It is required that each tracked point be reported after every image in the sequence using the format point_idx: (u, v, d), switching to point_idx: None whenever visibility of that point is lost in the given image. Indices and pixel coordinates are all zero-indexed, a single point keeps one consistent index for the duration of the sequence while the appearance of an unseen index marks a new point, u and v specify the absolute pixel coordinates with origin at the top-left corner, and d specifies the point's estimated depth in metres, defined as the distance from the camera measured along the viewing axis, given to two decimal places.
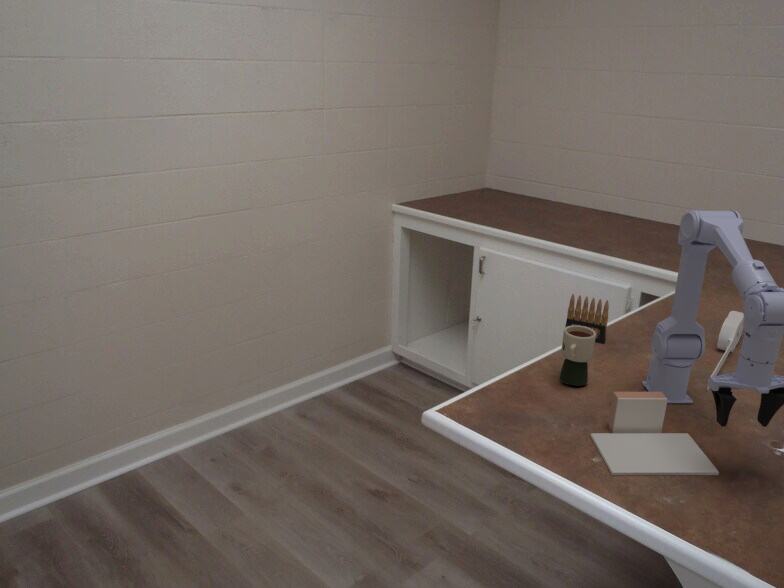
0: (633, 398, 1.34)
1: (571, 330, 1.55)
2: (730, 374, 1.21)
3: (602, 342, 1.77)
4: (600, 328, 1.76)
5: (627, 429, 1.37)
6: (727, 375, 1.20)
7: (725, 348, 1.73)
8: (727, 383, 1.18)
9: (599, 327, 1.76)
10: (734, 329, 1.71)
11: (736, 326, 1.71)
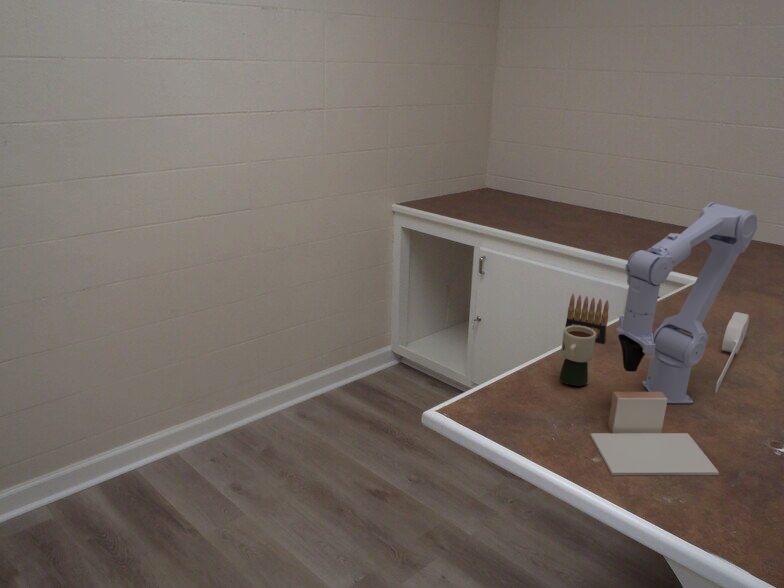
0: (633, 398, 1.34)
1: (571, 330, 1.55)
2: None
3: (602, 342, 1.77)
4: (600, 328, 1.76)
5: (627, 429, 1.37)
6: None
7: (730, 350, 1.72)
8: (621, 320, 1.42)
9: (599, 327, 1.76)
10: (739, 331, 1.70)
11: (741, 328, 1.70)
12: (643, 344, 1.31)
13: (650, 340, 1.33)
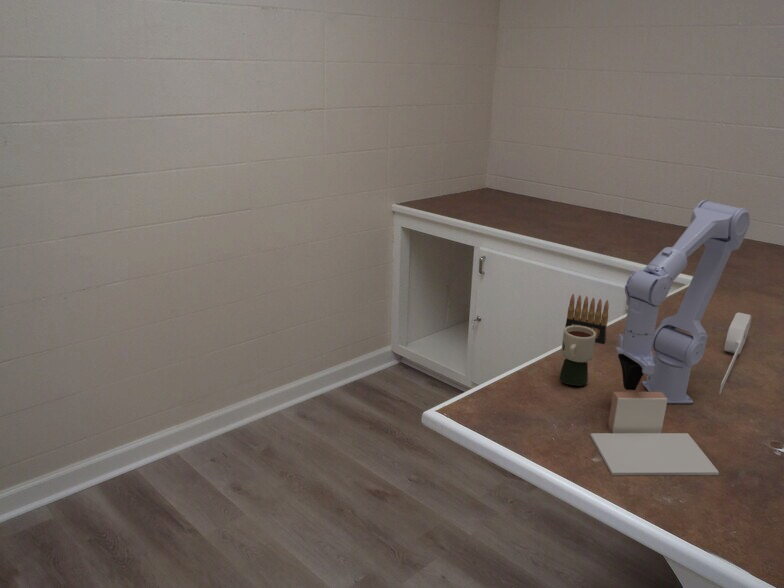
0: (633, 398, 1.34)
1: (571, 330, 1.55)
2: None
3: (602, 342, 1.77)
4: (600, 328, 1.76)
5: (627, 429, 1.37)
6: None
7: (732, 350, 1.72)
8: (620, 339, 1.43)
9: (599, 327, 1.76)
10: (741, 331, 1.70)
11: (743, 328, 1.70)
12: (642, 364, 1.32)
13: (649, 360, 1.33)
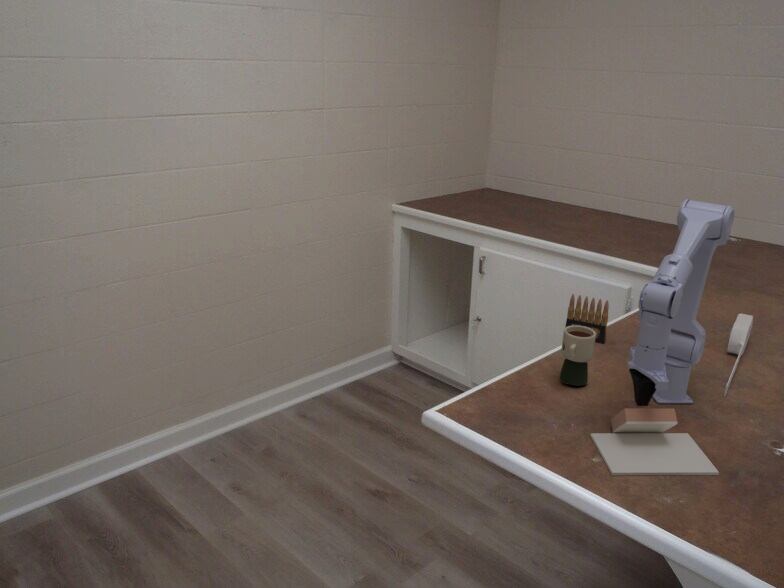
0: (642, 421, 1.30)
1: (571, 330, 1.55)
2: None
3: (602, 342, 1.77)
4: (600, 328, 1.76)
5: (628, 432, 1.36)
6: None
7: (735, 352, 1.71)
8: (632, 352, 1.36)
9: (599, 327, 1.76)
10: (744, 332, 1.69)
11: (746, 329, 1.70)
12: (656, 380, 1.26)
13: (663, 376, 1.27)
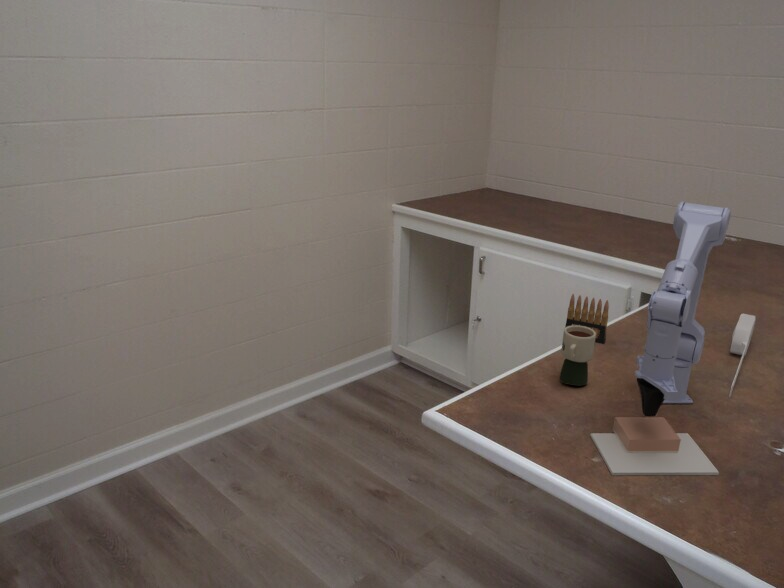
0: (643, 451, 1.29)
1: (571, 330, 1.55)
2: None
3: (602, 342, 1.77)
4: (600, 328, 1.76)
5: None
6: None
7: (738, 352, 1.71)
8: (639, 361, 1.33)
9: (599, 327, 1.76)
10: (748, 333, 1.69)
11: (749, 330, 1.69)
12: (664, 391, 1.22)
13: (672, 386, 1.24)
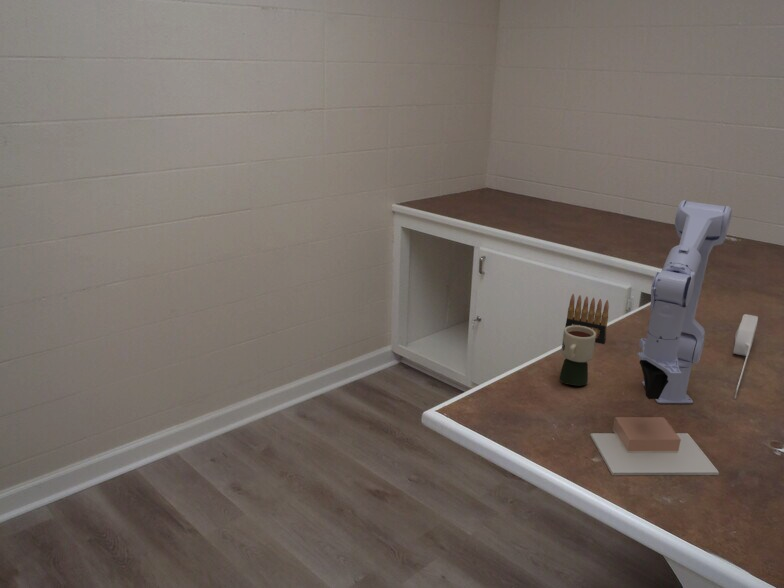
0: (643, 451, 1.29)
1: (571, 330, 1.55)
2: None
3: (602, 342, 1.77)
4: (600, 328, 1.76)
5: None
6: None
7: (742, 353, 1.70)
8: (642, 343, 1.31)
9: (599, 327, 1.76)
10: (751, 333, 1.68)
11: (752, 330, 1.69)
12: (668, 372, 1.21)
13: (675, 367, 1.22)
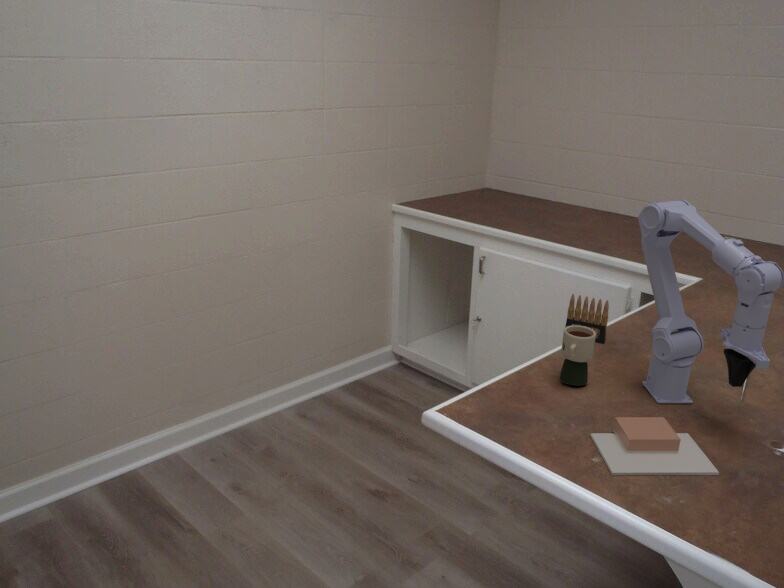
0: (643, 451, 1.29)
1: (571, 330, 1.55)
2: None
3: (602, 342, 1.77)
4: (600, 328, 1.76)
5: None
6: None
7: None
8: (725, 333, 1.37)
9: (599, 327, 1.76)
10: None
11: None
12: (756, 360, 1.26)
13: (762, 355, 1.28)
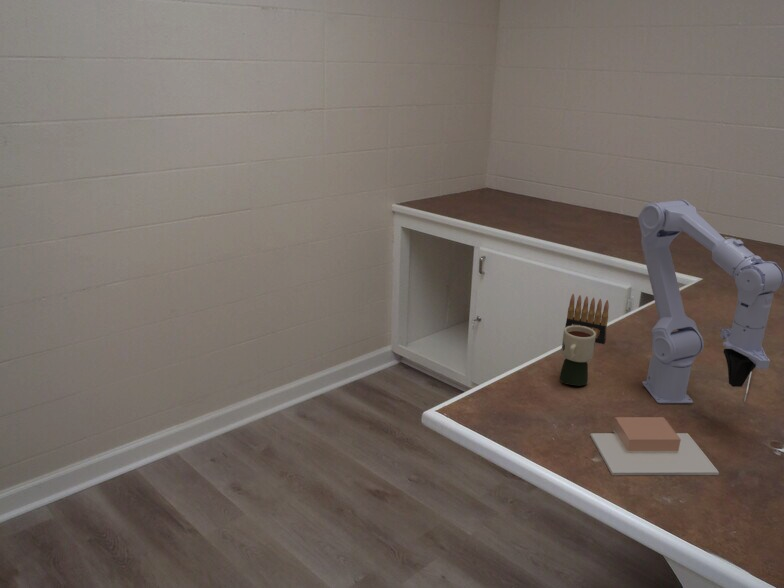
0: (643, 451, 1.29)
1: (571, 330, 1.55)
2: None
3: (602, 342, 1.77)
4: (600, 328, 1.76)
5: None
6: None
7: None
8: (725, 333, 1.37)
9: (599, 327, 1.76)
10: None
11: None
12: (756, 360, 1.26)
13: (762, 355, 1.28)
